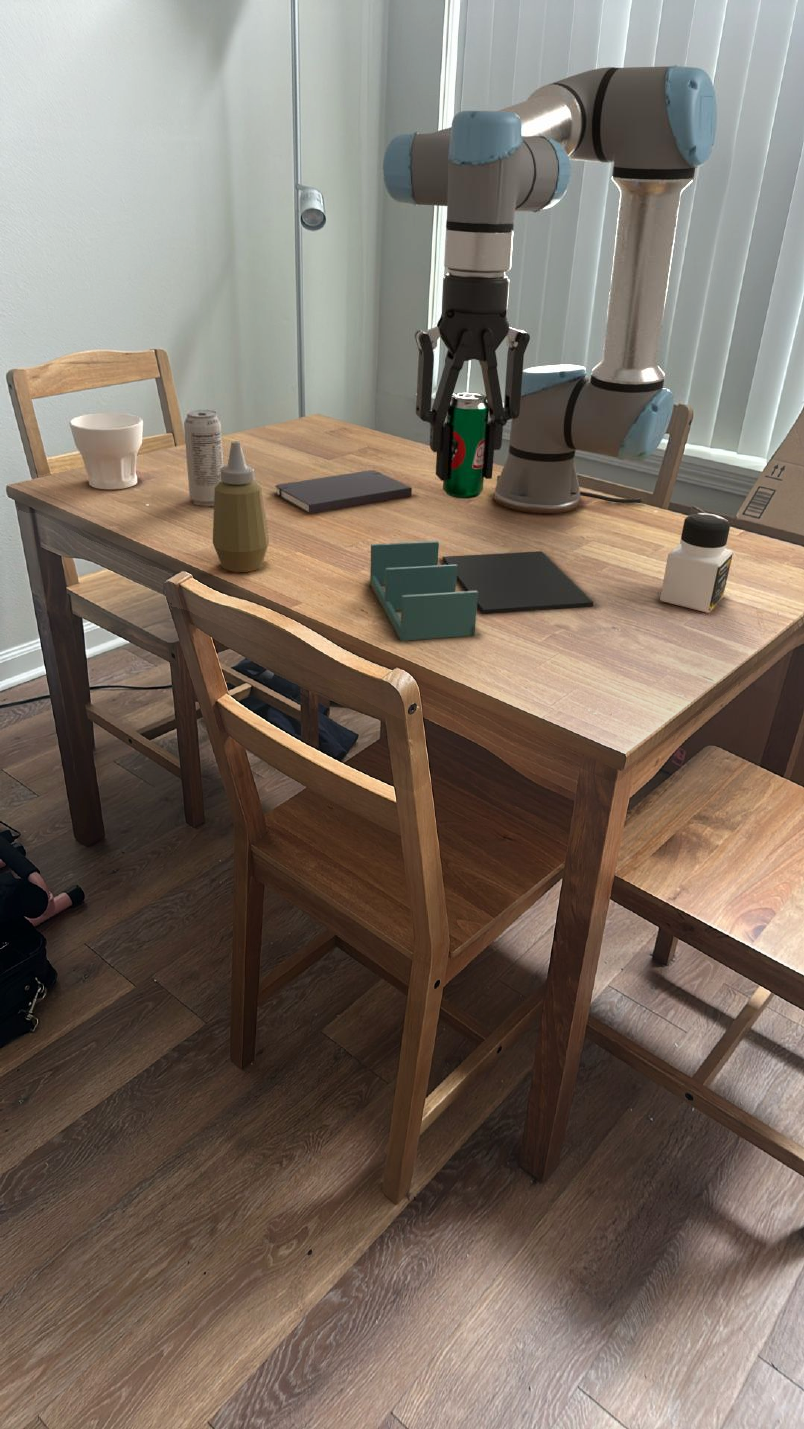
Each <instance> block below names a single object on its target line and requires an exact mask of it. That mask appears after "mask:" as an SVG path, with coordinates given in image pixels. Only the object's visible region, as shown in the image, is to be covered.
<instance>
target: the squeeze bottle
mask: <svg viewBox="0 0 804 1429" xmlns="http://www.w3.org/2000/svg"><path fill="white" fill-rule="evenodd" d="M220 474H221V482H220V483H218V484H217V485H216V486H215V492H214V506H213V518H212V519H213V520H212V522H213V523H212V545H213V548H214V550H215V552H216V555H217V557H218V559H219V562H220V565H221V567H222V568H223V569H225V571H230V572H235V573H246V572H247V573H248V572H253V571H257V570H258V569H260V568H262V566H263V564H264V560H265V557H266V554H267V551H268V547H269V545H270V539H269V531H268V525H267V518H266V512H265V504H264V503H265V502H264V496H263V491H262V486H261V485H260V484H259V483H258V482H257V481H255V469H254V467H253V466H251V465H247V464H246V459H245V456H244V452H243V448H242V444H241V442H240V441H237V440H233V441H231V443H230V449H229V455H228V461H227V464H226V465H223V467H222V468H221V469H220Z"/></svg>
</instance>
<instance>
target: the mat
mask: <svg viewBox="0 0 804 1429" xmlns="http://www.w3.org/2000/svg"><path fill="white" fill-rule="evenodd" d="M442 561H443V563H444V565H452V564H456V565H457V578H456V581H458V583H459V584H460V585H461V587H462V588H463V589H464V591H477V592H478V599H477V609H478V610H479V611H480V612H481V614H498V613H511V612H525V611H541V610H556V609H558V610H559V609H569V608H572V609H573V608H585V607H594V601H593V600H592V599H591V598H590V597H589V596H588V595H587V594H586V593H585V592H584V591H583V590H582V589H580V587H579V586H577V585H576V583H575V582H574V581H573V580H571V579H570V578H569V576H567V575H566V574H565V572H564V571H562V570H561V568H560V567H558V566H557V565H556V564H555V563H554V561H552V560H551V558H549V556H547V555H546V553H544V552H543V551H540V550H539V551H524V552H522V551H521V552H505V553H504V552H503V553H486V554H484V553H483V554H468V555H467V554H465V555H448V556H442Z"/></svg>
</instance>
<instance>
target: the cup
mask: <svg viewBox="0 0 804 1429" xmlns="http://www.w3.org/2000/svg"><path fill="white" fill-rule="evenodd" d="M68 423H69V428H70V430H71V435H72V438H73V441H74V446H75V447H76V449H77V451H78V452H79V453H80V455H81V458H82V460H83V464H84V467H85V471H86V474H87V476H88V484H89V486H90V487H92V488H94V489H97V490H102V491H103V490H105V491H107V490H108V491H112V490H113V491H116V490H124V489H128V488H131V487H133V486H135V485H137V483H138V476H137V472H136V470H137V456H138V452H139V450H140V448H141V446H142V444H143V430H144V428H143V427H144V421H143V419H142V418H141V417H140V416H137V415H134V414H129V413H122V412H97V413H88V414H81V415H79V416H75V417H73V418H72V419H70V420H69V421H68Z"/></svg>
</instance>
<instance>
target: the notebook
mask: <svg viewBox="0 0 804 1429" xmlns="http://www.w3.org/2000/svg"><path fill="white" fill-rule="evenodd" d="M274 486H275V488H276V492H275V495H276V496H277V497H279V498H281V499H283V500H285V501H287V502H288V503H290V504H292V505H293V506H294V507H297V508H298V509H300V510H302V511H304V512H306V513H308V514H315V513H320V512H321V513H322V512H326V511H331V510H337V509H343V508H349V507H355V506H361V505H366V504H367V505H368V504H372V503H377V502H384V501H389V500H394V499H395V500H396V499H401V498H406V497H412V496H413V495H412V493H413V487H412V486H410V485H407V484H405V483H403V482H401V481H399V480H398V479H397V480H396V479H394V478H392V477H390V476H388V475H386V474H383V473H382V472H379V471H377V470H373V469H371V470H363V471H357V472H350V473H343V474H337V475H331V476H325V477H318V478H311V479H305V480H298V481H291V482H285V483H280V484H279V483H278V484H275V485H274Z"/></svg>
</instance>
